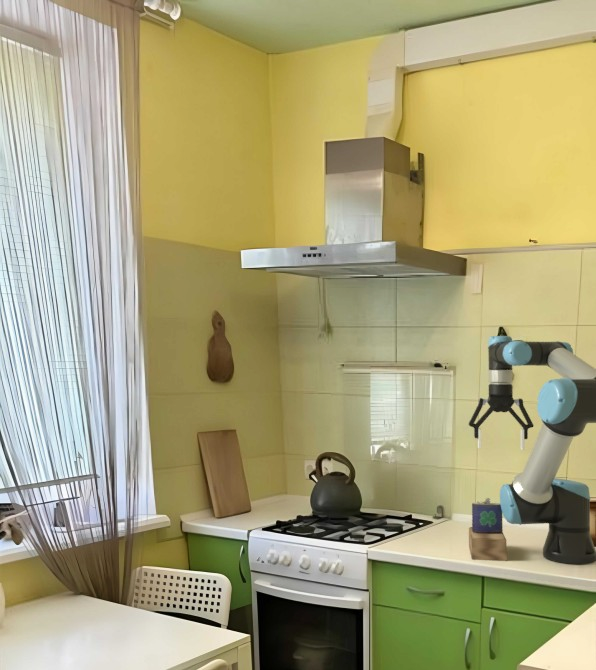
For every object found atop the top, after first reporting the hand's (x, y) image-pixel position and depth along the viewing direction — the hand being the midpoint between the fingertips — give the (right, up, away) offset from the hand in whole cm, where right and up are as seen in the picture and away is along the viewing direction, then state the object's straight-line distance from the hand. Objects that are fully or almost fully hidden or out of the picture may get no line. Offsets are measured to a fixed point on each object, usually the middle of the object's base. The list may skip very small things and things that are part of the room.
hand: (500, 449), depth 244 cm
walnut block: (-8, -30, -13) cm, 34 cm away
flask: (-8, -24, -13) cm, 28 cm away
